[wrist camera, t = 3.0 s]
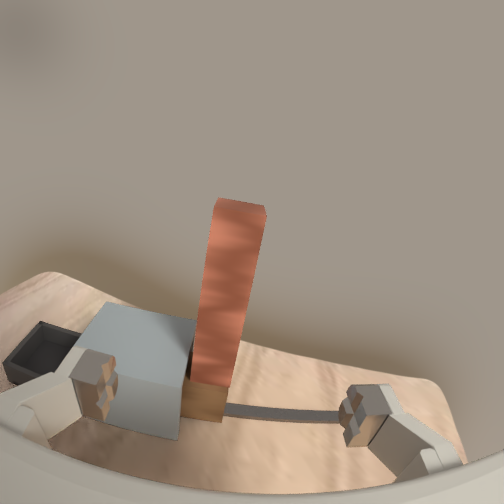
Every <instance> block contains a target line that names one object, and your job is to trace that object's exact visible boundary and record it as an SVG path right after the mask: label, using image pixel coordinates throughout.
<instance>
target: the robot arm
mask: <svg viewBox="0 0 504 504" xmlns="http://www.w3.org/2000/svg"><path fill="white" fill-rule="evenodd" d="M115 366H116V360H115V357H114V356H113V355H109V354H105V353H102V352H98V351H95V350H91V349H86V348H83V347H80V346H77V345H75V346H73V347H72V348H71V350H70V351H69V353H68V354H67V355H66V357H65V358H64V360H63V361H62V363H61V364H60V365H59V367H58V368H57V370H56V371H55V373H53V372H50V373H47V374H45V375H43V376H40V377H38V378H36V379H33V380H31V381H28V382H26V383H24V384H21V385H19V386H17V387H14V388H12V389H9V390H7V391H4V392H2V393H0V504H504V449H503V450H501V451H499V452H496V453H494V454H491V455H489V456H486V457H484V458H481V459H478V460H476V461H473V462H470V463H467V464H464V465H463V463H462V461H461V460H460V458H459V456H458V454H457V452H456V450H455V448H454V446H453V444H452V443H451V442H450V441H448V440H447V439H445V438H444V437H442V436H441V435H439V434H438V433H436V432H435V431H434V430H432V429H431V428H429V427H428V426H426V425H425V424H423V423H422V422H420V421H419V420H417V419H416V418H414V417H413V416H412V415H410V414H409V413H404V411H403V409H402V407H401V405H400V403H399V401H398V399H397V397H396V395H395V393H394V391H393V389H392V387H391V386H390V385H389V384H376V385H375V384H365V385H351V386H350V387H349V388H348V390H347V392H346V393H347V396H348V397H347V398H345V399H344V400H343V401H342V402H341V405H340V407H339V413H338V416H339V422H340V425H341V426H342V427H344V428H345V431H344V433H343V436H344V440H345V443H346V446H347V447H367V446H368V448H369V449H370V450H371V452H372V453H373V454H374V455H375V456H376V457H377V458H378V459H379V460H380V461H381V462H382V463H383V464H384V465H385V466H386V467H387V468H388V469H389V470H390V471H391V472H392V473H393V474H394V475H395V476H397V478H396V479H395V480H394V481H393V482H392V483H391V484H386V485H381V486H375V487H368V488H361V489H354V490H345V491H335V492H323V493H305V494H254V493H236V492H224V491H214V490H205V489H197V488H190V487H184V486H177V485H172V484H166V483H161V482H156V481H151V480H147V479H142V478H138V477H134V476H130V475H126V474H122V473H119V472H115V471H112V470H108V469H105V468H101V467H98V466H95V465H92V464H89V463H86V462H83V461H80V460H77V459H75V458H72V457H69V456H66V455H64V454H61V453H59V452H56V451H54V450H52V448H51V446H50V444H49V442H48V440H49V439H50V438H52V437H53V436H55V435H56V434H58V433H59V432H61V431H62V430H64V429H65V428H67V427H68V426H69V425H71V424H72V423H74V422H75V421H77V420H78V419H79V418H81V417H82V415H83V416H86V417H90V418H93V419H97V420H101V421H105V419H106V416H107V414H108V412H109V409H110V405H109V401H111V400H113V399H114V398H115V395H116V392H117V388H118V374H117V373H116V372H115V370H114V368H115Z"/></svg>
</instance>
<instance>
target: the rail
mask: <svg viewBox="0 0 504 504" xmlns="http://www.w3.org/2000/svg"><path fill="white" fill-rule="evenodd" d="M338 413H339V411H313V410H294V409H279V408H268V407H257V406H248V405H240V404H232V403H226V405H225V409H224V414H223V416H229V417H237V418H246V419H255V420H266V421H280V422H297V423H340V422H339V416H338Z"/></svg>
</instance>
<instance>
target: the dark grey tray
mask: <svg viewBox="0 0 504 504" xmlns="http://www.w3.org/2000/svg"><path fill="white" fill-rule="evenodd" d="M81 335H82V334H81V333H77V332H74V331H71V330H67V329H64V328H61V327H58V326H55V325H52V324H48V323H45V322H42V321H40V322H39V323H38V324H37V325H36V326H35V327H34V328H33V329H32V330H31V331H30V332H29V334H28V335H27V336H26V337H25V338H24V339H23V340H22V341H21V342H20V343H19V345H18V346H17V347H16V348H15V349H14V350H13V351H12V353H11V354H10V355H9V356H8V357H7V358H6V359H5V361H4V362H3V366H4V369H5V372H6V375H7V378H8V380H9V382H12V383H14V384H16V385H18V386H19V385H21V384H24V383H26V382H28V381H31V380H33V379H36V378H38V377H40V376H43V375H45V374H47V373H50V372H53V373H55V371H56V370H57V368H58V367H59V365H60V364H61V363H62V361H63V360H64V358H65V357H66V355H67V354H68V353H69V351H70V350H71V348H72V347H73V346H74V344H75V343H76V342H77V340H78V339H79V338H80V336H81Z"/></svg>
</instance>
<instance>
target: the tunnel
mask: <svg viewBox="0 0 504 504" xmlns="http://www.w3.org/2000/svg"><path fill="white" fill-rule="evenodd" d="M196 324H197V320H192V319H186V318H181V317H176V316H171V315H166V314H161V313H156V312H151V311H146V310H142V309H137V308H133V307H128V306H124V305H119V304H115V303H111V302H106V303H105V304H104V305H103V307H102V308H101V309H100V311H99V312H98V313H97V315H96V316H95V317H94V319H93V320H92V321H91V323H90V324H89V325H88V327H87V328H86V329H85V331H84V332H83V333H82V335H81V336H80V338H79V339H78V340H77V342H76V343H75V344H74V346H75V345H77V346H80V347H83V348H86V349H91V350H95V351H98V352H102V353H105V354H109V355H113V356H114V357H115V360H116V366H115V368H114V370H115V372H116V373H117V374H118V388H117V392H116V395H115V398H114V399H113V400H111V401H109V405H110V409H109V412H108V414H107V416H106V419H105V421H101V420H97V419H94V420H97V421H100V422H103V423H107V424H110V425H114V426H117V427H121V428H124V429H128V430H132V431H136V432H140V433H144V434H148V435H153V436H157V437H162V438H166V439H171V440H178V435H179V424H180V410H181V397H182V385H183V381H184V377H185V372H186V368H187V363H188V359H189V355H190V352H193V348H194V340H195V332H196ZM82 416H83V415H82ZM85 417H86V416H85ZM88 418H90V417H88ZM91 419H93V418H91Z"/></svg>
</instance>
